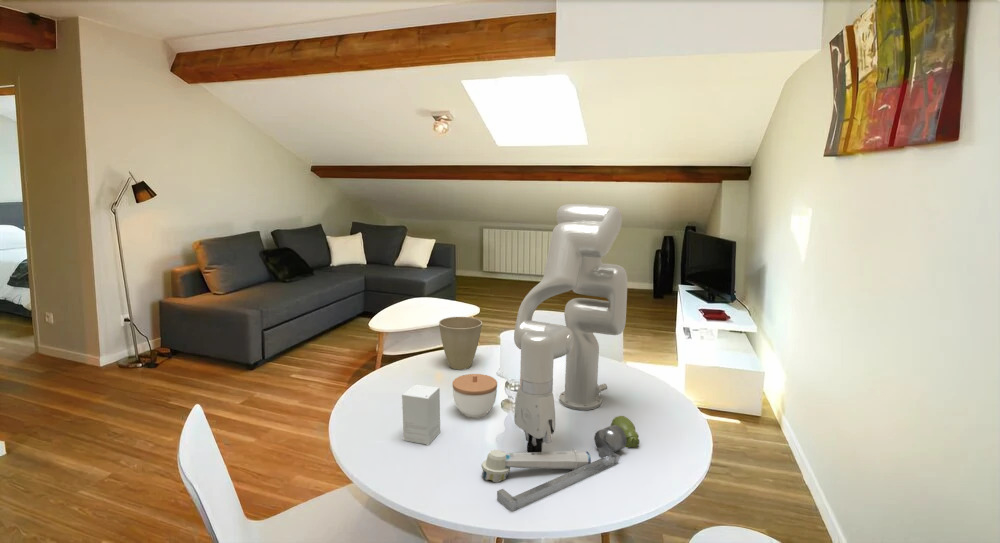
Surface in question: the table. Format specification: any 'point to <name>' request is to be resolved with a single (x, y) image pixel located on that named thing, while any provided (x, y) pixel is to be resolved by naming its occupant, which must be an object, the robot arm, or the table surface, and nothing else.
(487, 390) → the lidded bowl
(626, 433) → the pear
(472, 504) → the table surface
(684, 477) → the table surface
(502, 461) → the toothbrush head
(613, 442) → the ladle
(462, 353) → the plant pot
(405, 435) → the supplement box
